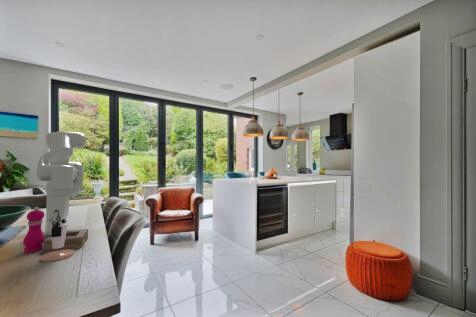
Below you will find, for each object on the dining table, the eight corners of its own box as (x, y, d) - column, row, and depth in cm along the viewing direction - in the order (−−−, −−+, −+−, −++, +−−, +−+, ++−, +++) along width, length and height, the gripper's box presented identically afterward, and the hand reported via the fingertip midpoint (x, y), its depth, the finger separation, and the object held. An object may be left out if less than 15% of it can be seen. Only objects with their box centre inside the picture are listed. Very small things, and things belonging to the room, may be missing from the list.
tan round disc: (45, 254, 92) (45, 251, 92) (76, 249, 97) (76, 247, 97) (35, 263, 82) (35, 261, 83) (70, 258, 87) (70, 256, 87)
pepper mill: (30, 254, 92) (33, 208, 93) (17, 252, 93) (21, 207, 95) (48, 248, 99) (50, 206, 100) (36, 246, 101) (39, 205, 102)
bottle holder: (55, 241, 108) (55, 231, 108) (87, 237, 114) (88, 228, 115) (43, 252, 94) (44, 241, 94) (81, 247, 100) (81, 237, 100)
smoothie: (45, 251, 86) (48, 216, 87) (51, 246, 91) (53, 213, 92) (65, 248, 89) (67, 215, 90) (69, 243, 94) (71, 212, 95)
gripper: (56, 191, 98) (54, 230, 96) (42, 195, 82) (39, 241, 81) (76, 191, 101) (74, 228, 100) (66, 194, 86) (63, 239, 84)
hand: (58, 234), depth 90 cm, fingers closed on smoothie, 6 cm apart
